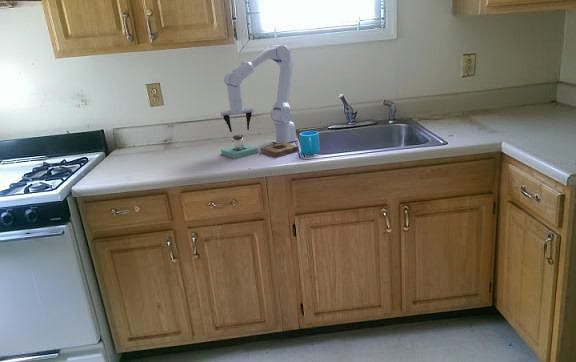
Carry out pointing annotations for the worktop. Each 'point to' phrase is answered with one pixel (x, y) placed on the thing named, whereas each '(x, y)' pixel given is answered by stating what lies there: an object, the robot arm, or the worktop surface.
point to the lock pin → (238, 142)
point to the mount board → (279, 149)
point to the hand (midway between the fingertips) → (239, 130)
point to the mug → (309, 142)
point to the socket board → (236, 154)
